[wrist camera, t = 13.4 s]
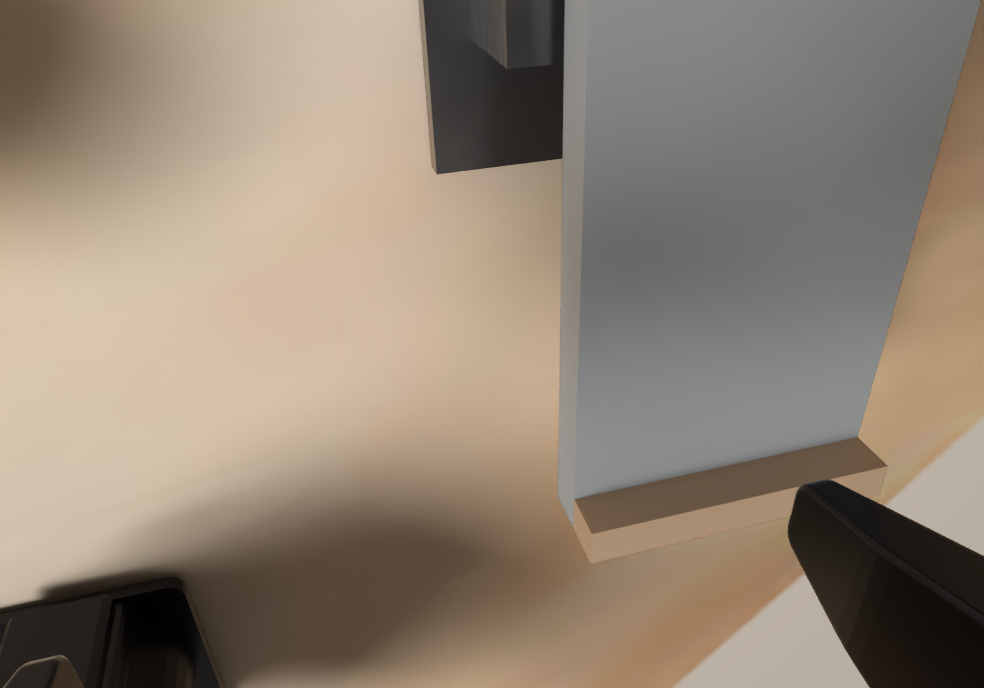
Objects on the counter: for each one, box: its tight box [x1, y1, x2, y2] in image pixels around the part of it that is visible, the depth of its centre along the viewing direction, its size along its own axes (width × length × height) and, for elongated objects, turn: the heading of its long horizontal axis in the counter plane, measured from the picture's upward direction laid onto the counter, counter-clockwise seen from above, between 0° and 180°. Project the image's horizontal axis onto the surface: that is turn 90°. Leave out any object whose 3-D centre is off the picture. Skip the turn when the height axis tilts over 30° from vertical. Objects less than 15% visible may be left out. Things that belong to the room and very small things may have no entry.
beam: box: [558, 0, 981, 564], centre depth 14 cm, size 22×8×2 cm, turn 2°
